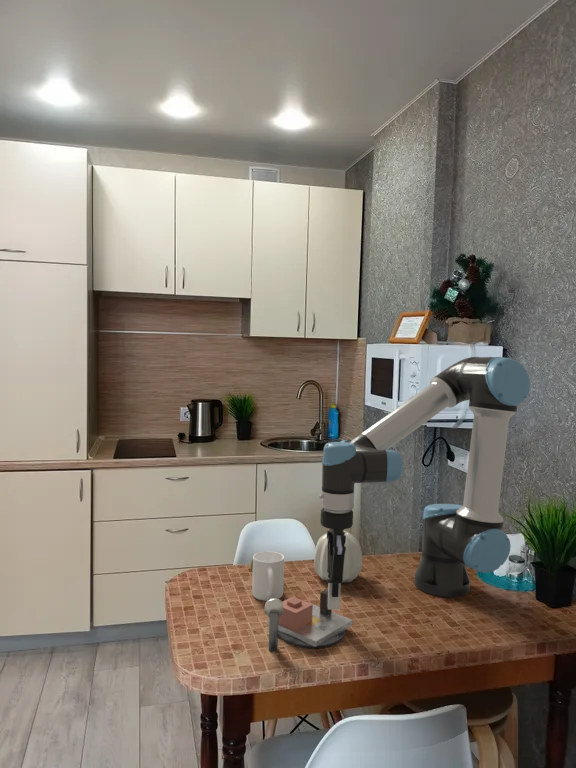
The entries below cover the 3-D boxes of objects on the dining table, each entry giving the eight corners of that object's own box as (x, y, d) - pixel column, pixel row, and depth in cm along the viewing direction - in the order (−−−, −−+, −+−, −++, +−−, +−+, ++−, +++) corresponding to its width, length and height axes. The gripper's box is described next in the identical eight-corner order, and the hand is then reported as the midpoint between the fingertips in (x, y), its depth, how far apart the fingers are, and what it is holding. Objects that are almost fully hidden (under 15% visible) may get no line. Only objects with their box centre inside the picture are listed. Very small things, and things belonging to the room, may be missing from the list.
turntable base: (338, 614, 140) (338, 610, 140) (350, 648, 124) (350, 643, 124) (274, 615, 139) (274, 611, 139) (277, 648, 123) (277, 644, 123)
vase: (304, 579, 162) (305, 533, 161) (329, 565, 173) (330, 522, 172) (347, 592, 154) (348, 543, 153) (370, 576, 165) (371, 531, 165)
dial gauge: (281, 645, 125) (283, 597, 124) (282, 651, 122) (284, 603, 122) (263, 645, 125) (264, 597, 124) (264, 651, 122) (265, 603, 121)
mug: (287, 607, 144) (288, 567, 143) (254, 608, 142) (255, 568, 142) (281, 588, 155) (282, 551, 155) (251, 589, 154) (252, 551, 154)
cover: (292, 613, 135) (292, 593, 135) (312, 621, 131) (312, 601, 131) (275, 621, 130) (275, 601, 130) (295, 630, 126) (295, 609, 126)
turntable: (306, 606, 141) (306, 581, 141) (352, 624, 132) (353, 598, 132) (267, 625, 131) (268, 599, 131) (315, 647, 122) (316, 618, 121)
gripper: (317, 501, 139) (314, 596, 140) (324, 516, 126) (320, 620, 127) (348, 502, 139) (344, 596, 140) (358, 517, 126) (354, 621, 127)
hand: (333, 607), depth 134 cm, fingers closed
